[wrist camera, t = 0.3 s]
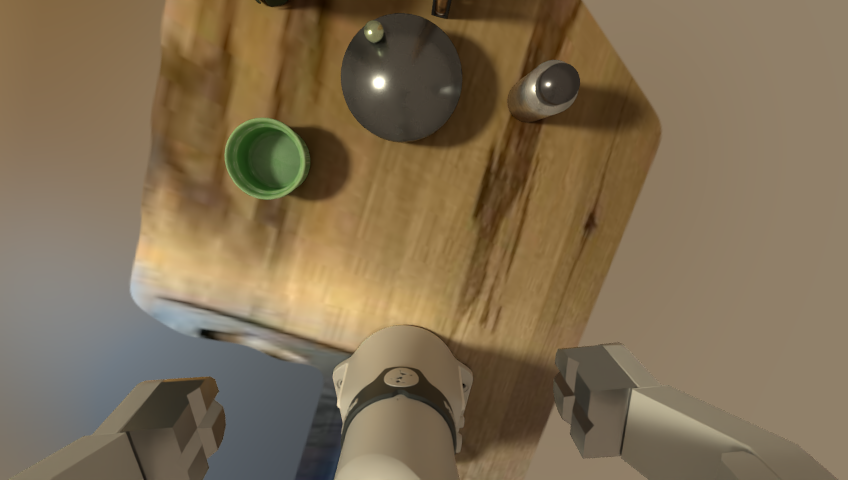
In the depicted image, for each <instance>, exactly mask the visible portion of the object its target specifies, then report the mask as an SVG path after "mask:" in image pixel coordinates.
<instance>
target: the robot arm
mask: <svg viewBox="0 0 848 480" xmlns="http://www.w3.org/2000/svg"><path fill="white" fill-rule="evenodd" d="M555 364H556V366H557V367H558V369H559V371H560V372H559V373H558V374H557V375H556V377H555V378H554V386H553V391H554V398H555V403H556V406H557V409H558V412H559V413H560V415H561V418H562V419H563V420H564V421H566V422H567V423H569V424H570V425H571V430H570V435H571V437H572V439H573V441H574V443H575V444H576V446H577V448H578V450H579V452H580V454H581V456H582V458H597V457H613V456H621V458H622V459H623V460H624V461H626V462H627V463H628V464H629V465H631V466H632V467H633V468H634V469H636V470H637V471H639V472H640V473H641V474H642V475H643V476H644V477H646V478H647V479H648V480H838V479H837V478H836V477H835V476H834V475H832V474H831V473H830V472H829V471H828V470H827V469H825V468H824V467H823V466H822V465H821V464H819V462H817V461H816V460H815V459H814V458H813V457H812V456H810V455H809V454H808V453H807V452H806V451H805V450H803V449H802V448H801V447H800V446H799V445H797V444H795V443H793V442H791V441H789V440H787V439H785V438H783V437H780V436H778V435H776V434H774V433H772V432H769V431H767V430H765V429H763V428H760V427H759V426H756V425H754V424H752V423H750V422H748V421H745V420H743V419H741V418H739V417H737V416H735V415H732V414H730V413H728V412H726V411H724V410H722V409H719V408H717V407H715V406H713V405H711V404H708V403H706V402H704V401H702V400H700V399H698V398H695V397H693V396H691V395H689V394H686V393H685V392H682V391H680V390H678V389H676V388H674V387H671V386H669V385H668V386H662V385H661V384H660V383H659V382H658V381H657V380H656V379H655V378H654V376H653V375H652V374H651V373H650V372H649V371H648V370H647V369H646V368H645V367H644V366H643V365H642V364H641V363H640V361H639V360H638V359H637V358H636V357H635V356H634V355H633V354H632V353H631V352H630V351H629V350H628V349H627V348H626V347H625V346H624V345H623V344H621V343H619V342H618V343H609V344H600V345H596V346H585V347H574V348H562V349H558V350H557V353H556V358H555ZM333 381H334V385H335V390H336V394H337V399H338V402H337V406H338V407H339V408H340V412H341V416H342V421H343V426H342V433H341V434H342V436H341V455H340V459H339V463H338V467H337V470H336V474H335V478H334V480H460V478H459V474H458V469H457V465H456V459H455V454H456V453H460V451H461V446H462V435H461V434H460V433H458V432H459V429H460V428H463V427H464V420H465V419H464V416H463V414H464V411H465V407H466V404H467V400H468V397H469V393H470V390H471V386H472V382H473V373H472V371H471V370H470V369H469V368H468V367H467V366H465V365H464V364H462V363H461V362H459V361H458V360H457V359H456V358H455V357H454V356H453V354H452V353H451V351H450V350H449V348H448V347H447V345H446V344H445V343H444V342H443V341H442V340H441V339H440V338H439V337H437V336H436V335H435V334H433V333H431V332H429V331H427V330H425V329H422V328H419V327H415V326H409V325H398V326H391V327H387V328H384V329H381V330H379V331H377V332H375V333H374V334H372V335H370V336H369V337H368V338H367V339H366V340H364V341H363V342H362V344H361V345H360V346H359V347H358V349H357V350H356V351H355V353H354V354H353V355H352V356H351V357H350V358H348V359H347V360H345V361H343V362H341V363H340V364H338V365H337V366H336V367H335V369H334V371H333ZM341 381H342V382H341ZM462 383H463V384H465V385H464V386H463V385H462ZM218 392H219V390H218V387H217V384H216V381H215V379H213V378H212V377H195V378H178V379H167V380H164V379H163V380H151V381H144V382H141V383H139V384H138V385H137V386H136V387H135V388H134V389H133V390H132V391H131V392H130V394H128V396H127V397H126V398H125V399H124V400H123V401H122V402H121V403H120V404H119V406H118V407H117V408H116V409H115V410H114V411H113V412H112V413H111V414H110V415H109V417H108V418H107V419H106V420H105V421H104V422H103V423H102V424H101V425H100V427H99V428H98V429H97V430H96V431H95V432H94V433H93V434H92V435H90V436H83V437H81V438H80V439H78V440H76V441H74V442H73V443H71V444H69V445H67V446H66V447H64V448H62V449H60V450H59V451H57V452H55V453H54V454H52V455H50V456H48V457H47V458H45V459H43V460H41V461H40V462H38V463H36V464H34V465H33V466H31V467H29V468H28V469H26V470H24V471H22V472H21V473H19V474H17V475H15V476H14V477H12V478H10V479H8V480H203V478H204V476H205V474H206V472H207V470H208V469H209V466H208V463H207V458H209V457H210V456H211V455H212V454H214V453H215V452H216V451H217V450H218V448H219V446H220V444H221V442H222V440H223V436H224V431H225V426H226V423H225V413H224V409H223V406H222V405H220V404H219V403H218V402H217V401H215V400H214V399H215V397H216V395H217V393H218Z"/></svg>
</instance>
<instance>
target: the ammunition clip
mask: <svg viewBox="0 0 848 480" xmlns="http://www.w3.org/2000/svg"><path fill="white" fill-rule="evenodd" d="M450 4H451V0H433V6H432V15H434V16H437V17H441V18H445V19H447V17H448V13H449V8H450Z"/></svg>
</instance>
